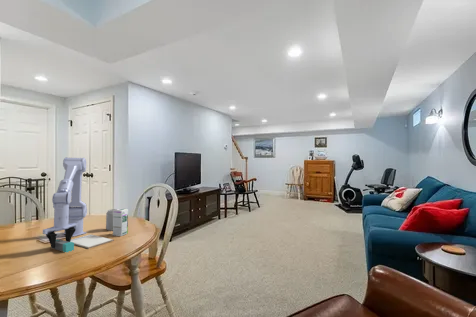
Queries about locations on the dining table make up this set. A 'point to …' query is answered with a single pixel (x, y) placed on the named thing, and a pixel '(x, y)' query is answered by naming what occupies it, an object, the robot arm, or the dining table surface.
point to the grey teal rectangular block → (64, 245)
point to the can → (109, 220)
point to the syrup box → (120, 222)
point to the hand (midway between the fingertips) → (60, 245)
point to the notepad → (90, 241)
